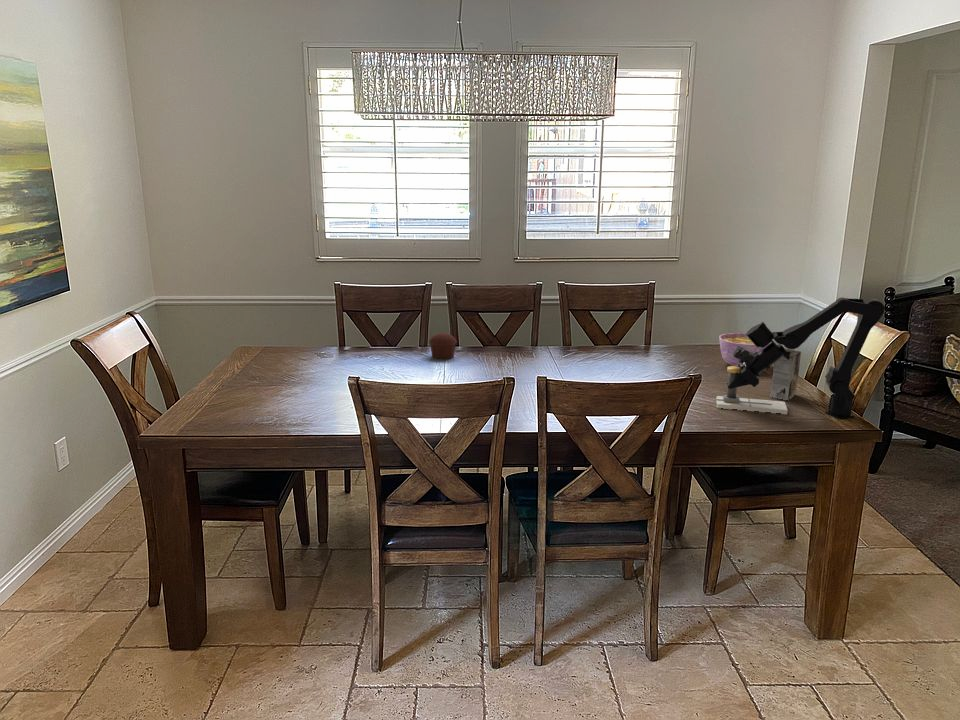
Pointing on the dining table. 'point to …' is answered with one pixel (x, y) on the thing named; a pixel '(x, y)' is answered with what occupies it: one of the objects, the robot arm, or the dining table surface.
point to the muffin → (442, 346)
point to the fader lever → (732, 392)
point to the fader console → (753, 405)
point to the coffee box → (786, 376)
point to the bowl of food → (735, 346)
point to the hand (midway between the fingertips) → (728, 386)
